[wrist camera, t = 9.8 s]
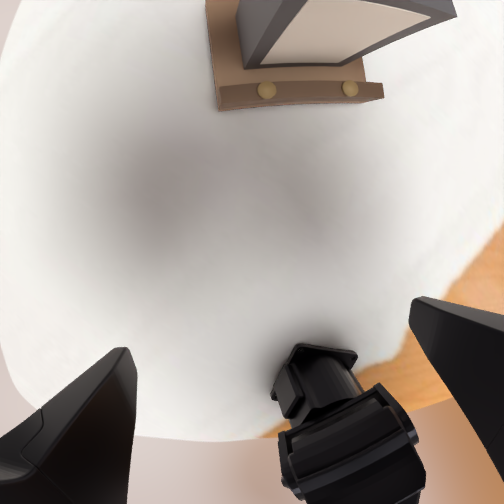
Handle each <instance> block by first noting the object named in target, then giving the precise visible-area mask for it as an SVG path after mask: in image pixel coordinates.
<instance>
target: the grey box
mask: <svg viewBox="0 0 504 504" xmlns="http://www.w3.org/2000/svg"><path fill="white" fill-rule="evenodd" d="M456 17H457V14H456V11H455V8H454V5H453V2H452V0H240V1H239V4H238V8H237V12H236V15H235V18H236V24H237V30H238V36H239V42H240V49H241V55H242V61H243V68H244V70H249V69H260V68H276V67H302V66H330V67H342V66H344V65H346V64H348V63H350V62H352V61H354V60H356V59H358V58H360V57H362V56H364V55H366V54H368V53H370V52H372V51H374V50H377V49H379V48H381V47H383V46H385V45H387V44H390V43H392V42H394V41H396V40H399V39H401V38H403V37H406V36H408V35H411V34H413V33H415V32H418V31H420V30H423V29H425V28H428V27H431V26H433V25H436V24H439V23H441V22H444V21H447V20H450V19H453V18H456Z"/></svg>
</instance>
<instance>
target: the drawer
mask: <svg viewBox="0 0 504 504" xmlns="http://www.w3.org/2000/svg"><path fill="white" fill-rule="evenodd" d="M239 1H240V0H206V4H205V7H206V16H207V24H208V32H209V40H210V48H211V56H212V64H213V72H214V80H215V88H216V95H217V103H218V110H219V111H226V110H234V109H242V108H252V107H262V106H275V105H290V104H312V103H364V102H368V101H373V100H378V99H382V98H384V92H383V85H382V83H374V82H366V78H365V72H364V66H363V60H362V57H360V58H358V59H356V60H354V61H352V62H350V63H348V64H346V65H344V66H342V67H330V66H302V67H276V68H260V69H249V70H244V68H243V61H242V55H241V49H240V42H239V36H238V30H237V24H236V18H235V15H236V12H237V8H238V4H239Z"/></svg>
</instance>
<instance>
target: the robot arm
mask: <svg viewBox="0 0 504 504" xmlns="http://www.w3.org/2000/svg"><path fill="white" fill-rule="evenodd" d="M409 326H410V328H411V330H412V332H413V333H414V335H415V337H416V339H417V340H418V342H419V344H420V346H421V348H422V349H423V351H424V353H425V355H426V356H427V358H428V360H429V361H430V363H431V364H432V366H433V367H434V369H435V370H436V372H437V373H438V374H439V376H440V377H441V379H442V380H443V382H444V383H445V385H446V386H447V388H448V389H449V391H450V392H451V394H452V395H453V397H454V398H455V400H456V401H457V403H458V404H459V406H460V408H461V409H462V411H463V412H464V414H465V415H466V417H467V419H468V420H469V422H470V424H471V425H472V427H473V429H474V430H475V432H476V433H477V435H478V437H479V439H480V440H481V442H482V444H483V445H484V447H485V448H486V451H487V453H488V454H489V456H490V458H491V460H492V461H493V463H494V465H495V467H496V469H497V471H498V472H499V474H500V476H501V478H502V480H503V482H504V315H501V314H497V313H493V312H488V311H484V310H480V309H476V308H471V307H467V306H463V305H459V304H454V303H450V302H446V301H442V300H438V299H433V298H429V297H425V296H421V297H418V298H414V299H413V300H412V302H411V308H410V314H409ZM299 349H302V350H301V351H298V350H299ZM357 358H358V355H357V354H356V353H355V352H352V351H345V350H338V349H331V348H324V347H318V346H312V345H306V344H298V345H296V346H295V347H294V349H293V351H292V353H291V355H290V357H289V359H288V361H287V363H286V364H285V365H284V366H283V368H282V370H281V372H280V374H279V376H278V378H277V380H276V382H275V384H274V388H273V390H272V392H271V394H270V396H271V399H272V400H274V401H278V402H279V405H280V408H281V411H282V414H283V417H284V418H285V419H289V422H290V425H291V428H292V429H289V430H287V431H282V432H280V433H278V438H279V441H278V448H279V456H280V464H281V473H282V479H281V482H282V484H283V486H284V487H287V488H289V489H291V491H292V492H293V493H294V495H295V496H296V497H297V498H298V499H299V500H301V501H302V500H306V503H307V504H418V503H419V498H420V493H421V490H423V489H424V488H425V482H426V471H425V469H424V466H423V463H422V461H421V459H420V457H419V456H418V454H417V452H416V449H415V447H414V445H416V444H417V443H419V438H418V435H417V432H416V430H415V427H414V425H413V423H412V422H411V420H410V418H409V416H408V415H407V413H406V412H405V410H404V409H403V408H402V406H401V405H400V404H399V403H398V402H397V401H396V400H395V399H394V398H393V397H392V395H391V394H390V393H389V392H388V391H387V390H386V389H385V388H384V387H383V386H382V385H381V384H380V383H377V384H376V385H374V386H373V388H371V389H369V390H367V391H366V392H365V391H364V390H363V388H362V387H361V385H360V383H359V382H358V380H357V379H356V377H355V376H354V374H353V373H352V371H351V369H352V367H353V365H354V364H355V362H356V360H357ZM275 395H277V396H275ZM136 401H137V369H136V366H135V364H134V361H133V358H132V355H131V353H130V350H129V349H128V348H127V347H117V348H114V349H112V350H111V351H110V352H109V353H108V354H106V355H105V356H104V357H103V358H101V359H100V360H99V361H98V362H96V363H95V364H94V365H93V366H91V367H90V368H89V369H88V370H86V371H85V372H84V373H83V374H81V375H80V376H79V377H78V378H76V379H75V380H74V381H73V382H71V383H70V384H69V385H68V386H67V387H65V388H64V389H63V390H62V391H60V392H59V393H58V394H57V395H55V396H54V397H53V398H52V399H51V400H49V401H48V402H47V403H46V404H44V405H43V406H42V407H41V409H38V410H37V411H36V412H35V413H33V414H32V415H31V416H30V417H28V418H27V419H26V420H25V421H24V422H22V423H21V424H19V425H18V426H16V427H15V428H14V429H12V430H11V431H9V432H8V433H7V434H5V435H4V436H2V437H1V438H0V504H127V493H128V482H129V472H130V462H131V453H132V445H133V437H134V430H135V422H136Z"/></svg>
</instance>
